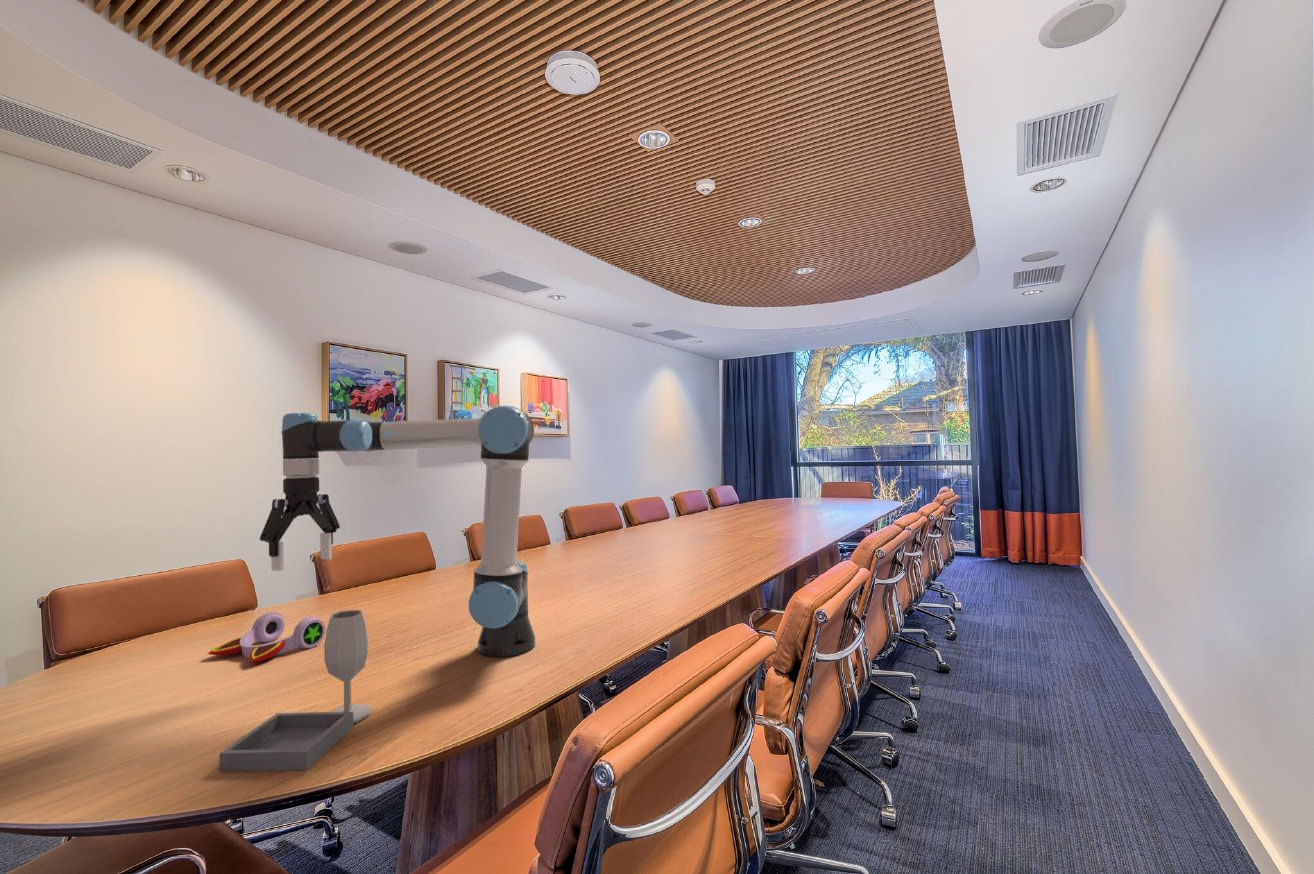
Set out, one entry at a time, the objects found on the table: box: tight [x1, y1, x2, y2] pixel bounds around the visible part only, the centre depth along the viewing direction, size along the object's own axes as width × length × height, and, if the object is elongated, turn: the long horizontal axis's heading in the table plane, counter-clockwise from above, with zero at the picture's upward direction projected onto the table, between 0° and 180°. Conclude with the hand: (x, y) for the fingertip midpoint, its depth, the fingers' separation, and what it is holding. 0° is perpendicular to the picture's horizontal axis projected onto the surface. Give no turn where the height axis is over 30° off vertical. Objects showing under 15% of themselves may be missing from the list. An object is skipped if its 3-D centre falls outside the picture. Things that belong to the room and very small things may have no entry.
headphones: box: [207, 611, 326, 663], centre depth 161 cm, size 20×10×20 cm
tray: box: [218, 711, 354, 772], centre depth 107 cm, size 15×15×3 cm
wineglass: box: [323, 609, 372, 724], centre depth 119 cm, size 9×9×21 cm
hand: (303, 564), depth 142 cm, fingers open, 13 cm apart
